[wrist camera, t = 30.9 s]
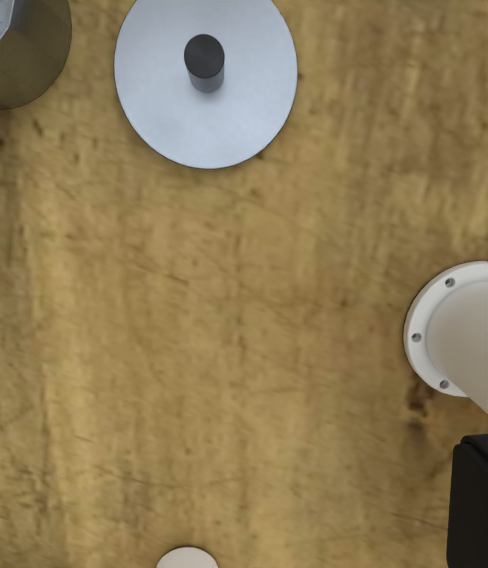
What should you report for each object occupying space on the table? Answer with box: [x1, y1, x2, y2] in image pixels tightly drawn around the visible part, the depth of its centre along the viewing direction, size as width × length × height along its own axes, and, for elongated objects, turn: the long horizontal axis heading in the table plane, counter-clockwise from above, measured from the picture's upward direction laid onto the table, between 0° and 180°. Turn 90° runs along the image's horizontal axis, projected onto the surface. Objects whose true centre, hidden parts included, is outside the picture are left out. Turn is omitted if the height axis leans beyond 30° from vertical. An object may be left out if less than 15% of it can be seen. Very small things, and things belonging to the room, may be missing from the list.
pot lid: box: [114, 0, 298, 169], centre depth 29 cm, size 14×14×6 cm
